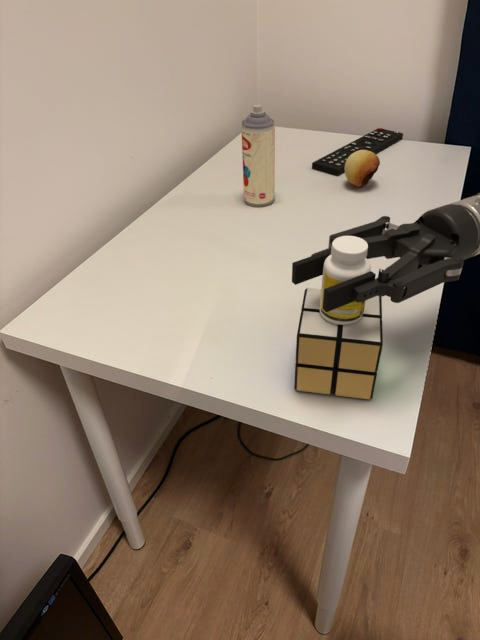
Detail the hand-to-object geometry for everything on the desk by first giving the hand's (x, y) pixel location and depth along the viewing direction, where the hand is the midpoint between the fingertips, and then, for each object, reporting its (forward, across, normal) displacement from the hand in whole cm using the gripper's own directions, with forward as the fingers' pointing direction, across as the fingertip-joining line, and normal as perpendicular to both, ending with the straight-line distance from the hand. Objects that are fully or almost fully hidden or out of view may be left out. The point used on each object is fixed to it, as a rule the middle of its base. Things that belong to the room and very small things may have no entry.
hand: (309, 286), depth 55 cm
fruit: (-46, -45, +16) cm, 66 cm away
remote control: (-59, -60, +16) cm, 86 cm away
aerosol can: (-23, -51, +16) cm, 58 cm away
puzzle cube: (-5, 0, +16) cm, 17 cm away
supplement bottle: (-5, 0, +6) cm, 8 cm away
